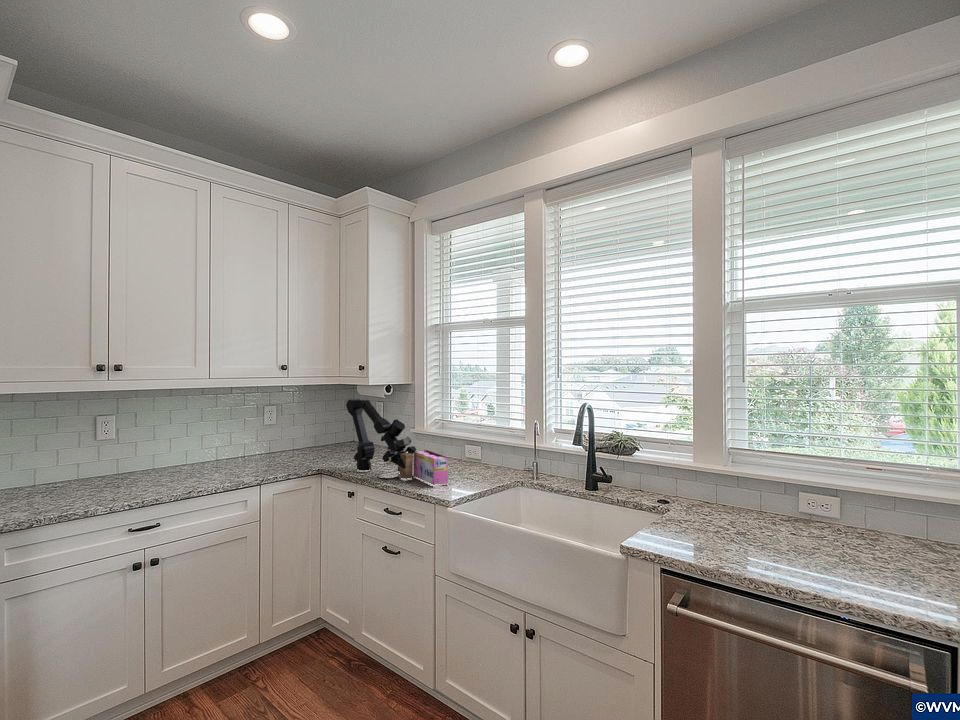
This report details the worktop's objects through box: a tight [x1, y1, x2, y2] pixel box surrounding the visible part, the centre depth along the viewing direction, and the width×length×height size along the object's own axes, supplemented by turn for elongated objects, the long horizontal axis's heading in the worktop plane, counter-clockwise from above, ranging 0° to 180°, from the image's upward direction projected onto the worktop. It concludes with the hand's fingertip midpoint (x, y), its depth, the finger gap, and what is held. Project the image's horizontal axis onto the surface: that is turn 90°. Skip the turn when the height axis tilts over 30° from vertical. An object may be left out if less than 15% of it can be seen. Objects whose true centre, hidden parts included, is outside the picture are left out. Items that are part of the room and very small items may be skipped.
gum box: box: [413, 449, 449, 485], centre depth 239 cm, size 24×8×14 cm, turn 32°
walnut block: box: [399, 453, 414, 479], centre depth 240 cm, size 4×4×13 cm
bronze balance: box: [385, 461, 400, 471], centre depth 254 cm, size 14×4×10 cm, turn 82°
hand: (408, 467), depth 240 cm, fingers closed on walnut block, 4 cm apart
